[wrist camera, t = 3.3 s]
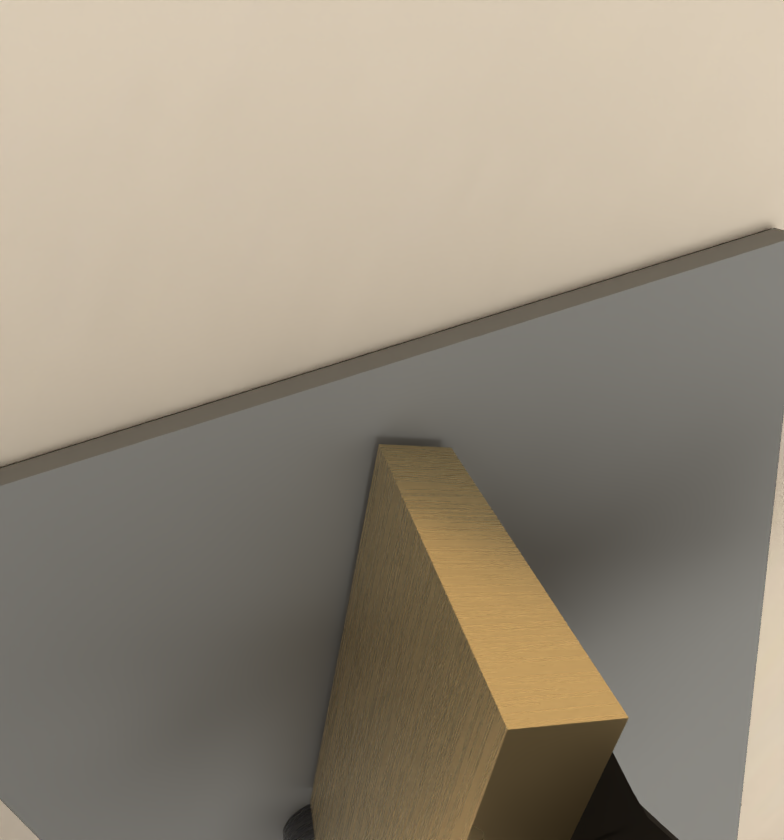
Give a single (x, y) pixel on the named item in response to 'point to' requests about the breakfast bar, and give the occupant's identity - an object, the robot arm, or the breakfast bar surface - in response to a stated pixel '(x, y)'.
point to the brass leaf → (454, 677)
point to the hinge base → (340, 538)
